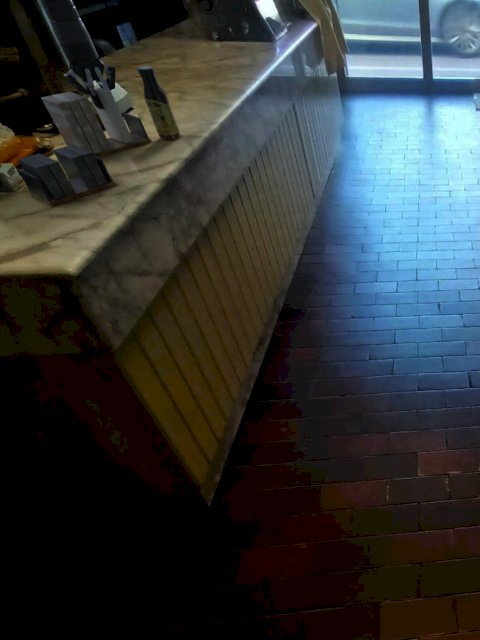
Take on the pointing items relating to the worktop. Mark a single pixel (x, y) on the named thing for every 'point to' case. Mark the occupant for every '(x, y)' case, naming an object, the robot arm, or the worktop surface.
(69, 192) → the grey book rack
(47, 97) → the grey book stand
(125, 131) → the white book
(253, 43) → the worktop surface
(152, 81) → the sauce bottle
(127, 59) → the worktop surface
